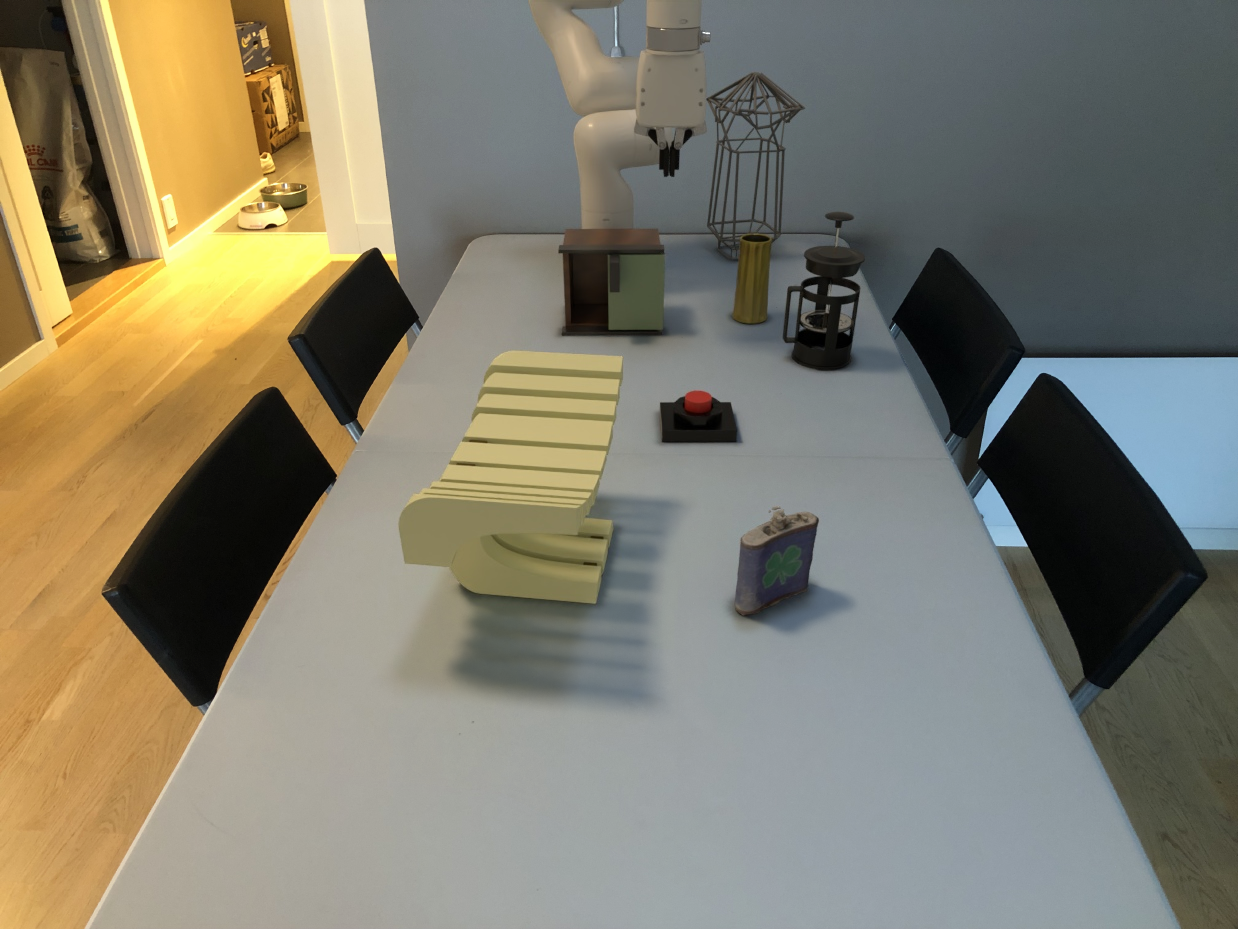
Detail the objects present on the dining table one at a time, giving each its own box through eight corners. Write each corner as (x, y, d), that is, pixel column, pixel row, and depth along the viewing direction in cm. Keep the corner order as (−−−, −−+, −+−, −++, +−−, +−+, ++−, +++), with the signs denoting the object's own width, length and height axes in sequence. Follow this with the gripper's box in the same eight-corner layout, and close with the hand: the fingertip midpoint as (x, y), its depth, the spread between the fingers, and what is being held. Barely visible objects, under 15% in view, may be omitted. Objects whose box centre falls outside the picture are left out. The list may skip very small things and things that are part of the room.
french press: (847, 345, 142) (868, 204, 130) (862, 370, 134) (885, 222, 122) (776, 345, 142) (790, 205, 130) (786, 370, 134) (802, 223, 122)
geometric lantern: (695, 244, 187) (703, 68, 169) (763, 238, 190) (778, 65, 172) (719, 268, 174) (731, 80, 156) (792, 261, 177) (812, 76, 159)
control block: (661, 442, 116) (662, 419, 114) (659, 413, 123) (660, 391, 121) (736, 442, 116) (738, 419, 114) (730, 413, 123) (731, 391, 121)
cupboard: (561, 335, 146) (558, 249, 138) (565, 307, 157) (562, 226, 149) (662, 335, 146) (664, 249, 138) (659, 307, 157) (661, 225, 149)
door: (608, 338, 143) (607, 262, 136) (608, 328, 147) (607, 253, 140) (664, 338, 143) (665, 262, 136) (662, 327, 147) (664, 252, 140)
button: (685, 414, 116) (685, 402, 115) (683, 401, 119) (684, 390, 118) (712, 414, 116) (712, 402, 115) (709, 401, 119) (710, 390, 118)
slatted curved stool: (497, 479, 109) (485, 348, 99) (623, 488, 107) (622, 356, 97) (419, 647, 83) (392, 494, 74) (582, 663, 82) (576, 508, 72)
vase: (769, 324, 150) (776, 243, 142) (733, 324, 150) (739, 243, 142) (764, 311, 155) (771, 232, 147) (730, 310, 155) (735, 232, 148)
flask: (743, 619, 86) (752, 533, 81) (726, 603, 89) (733, 517, 83) (814, 589, 90) (827, 504, 85) (795, 573, 93) (806, 490, 87)
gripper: (723, 37, 124) (715, 168, 134) (619, 37, 124) (619, 168, 134) (729, 44, 118) (720, 181, 128) (619, 44, 118) (619, 181, 128)
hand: (668, 174), depth 131 cm, fingers closed
